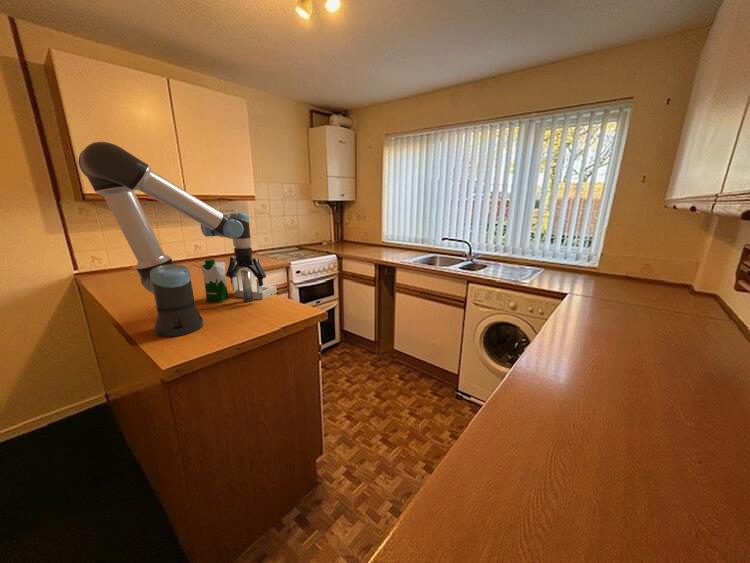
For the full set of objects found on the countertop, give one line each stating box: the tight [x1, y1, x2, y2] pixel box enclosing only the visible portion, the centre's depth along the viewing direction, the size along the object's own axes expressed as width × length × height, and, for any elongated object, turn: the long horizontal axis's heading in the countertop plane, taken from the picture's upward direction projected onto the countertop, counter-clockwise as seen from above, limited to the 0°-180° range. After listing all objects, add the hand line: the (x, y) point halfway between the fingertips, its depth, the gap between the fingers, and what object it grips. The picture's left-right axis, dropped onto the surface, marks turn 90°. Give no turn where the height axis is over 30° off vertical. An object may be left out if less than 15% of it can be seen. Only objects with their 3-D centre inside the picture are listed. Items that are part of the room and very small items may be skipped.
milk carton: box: [199, 258, 229, 303], centre depth 142 cm, size 9×9×20 cm
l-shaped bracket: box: [233, 262, 278, 300], centre depth 151 cm, size 12×16×16 cm
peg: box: [241, 270, 254, 303], centre depth 141 cm, size 4×4×15 cm
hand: (247, 291), depth 141 cm, fingers open, 13 cm apart
